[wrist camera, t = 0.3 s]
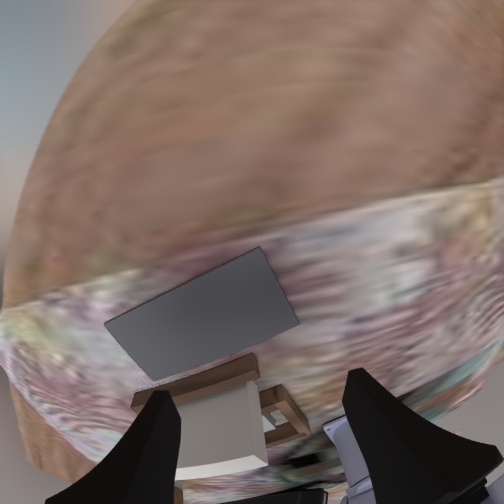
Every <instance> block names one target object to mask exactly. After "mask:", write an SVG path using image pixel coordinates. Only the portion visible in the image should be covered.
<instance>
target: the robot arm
mask: <svg viewBox="0 0 504 504" xmlns="http://www.w3.org/2000/svg"><path fill="white" fill-rule="evenodd" d="M342 403H343V406H344V410H345V414H346V416H344V417H341V418H339V419H337V420H334V421H332V422H330V423H327V424H325V425H324V426H323V429H324V431H325V432H326V434H327V435H328V436H329V438H330V439H331V441H332V442H333V443H334V445H335V446H336V448H337V451H338V454H339V457H340V460H341V463H342V466H343V469H344V472H345V475H346V478H347V481H348V485H349V489H347V490H346V493H347V496H345V497H343V499H342V501H341V503H340V504H504V474H503V475H501V476H500V477H499V478H498V479H497V480H496V481H494V482H493V483H492V484H491V485H489V486H488V487H485V484H486V483H487V480H486V478H485V477H486V476H487V475H488V474H490V473H491V472H492V471H493V470H494V469H495V468H497V467H498V466H499V465H500V464H501V463H502V462H503V460H504V458H503V457H502V455H501V453H500V452H499V450H498V449H497V447H496V446H494V445H489V444H485V443H480V442H476V441H472V440H469V439H466V438H463V437H460V436H458V435H456V434H453V433H451V432H449V431H446V430H444V429H442V428H440V427H438V426H436V425H434V424H433V423H431V422H429V421H428V420H426V419H424V418H423V417H421V416H420V415H418V414H417V413H415V412H414V411H413V410H411V409H410V408H408V407H407V406H406V405H404V404H403V403H402V402H401V401H399V400H398V399H397V398H396V397H395V396H393V395H392V394H391V393H390V392H389V391H388V390H386V389H385V388H384V387H383V386H382V385H381V384H380V383H379V382H378V381H376V380H375V379H374V378H373V377H372V376H371V375H370V374H369V373H368V372H367V371H366V370H365V369H363V368H358V369H354V370H350V371H349V372H348V376H347V381H346V386H345V390H344V395H343V399H342ZM180 442H181V417H180V415H179V413H178V410H177V408H176V406H175V404H174V402H173V399H172V397H171V395H170V392H169V390H154V391H153V393H152V394H151V396H150V397H149V399H148V400H147V402H146V404H145V405H144V407H143V408H142V410H141V411H140V413H139V414H138V416H137V417H136V419H135V420H134V422H133V423H132V425H131V426H130V427H129V429H128V430H127V432H126V433H125V434H124V435H123V437H122V438H121V439H120V440H119V442H118V443H117V444H116V445H115V447H114V448H113V449H112V450H111V451H110V452H109V453H108V455H107V456H106V457H105V458H104V459H103V460H102V461H101V462H100V463H99V464H98V465H96V466H95V467H94V468H93V469H92V470H91V471H90V472H89V473H87V474H86V475H85V476H84V477H82V478H81V479H80V480H78V481H77V482H75V483H74V484H72V485H71V486H70V487H68V488H66V489H65V490H63V491H61V492H59V493H58V494H56V495H54V496H52V497H50V498H48V499H46V501H45V504H174V484H175V476H176V469H177V462H178V456H179V449H180Z"/></svg>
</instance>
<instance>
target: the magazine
mask: <svg viewBox="0 0 504 504" xmlns="http://www.w3.org/2000/svg"><path fill="white" fill-rule="evenodd" d="M327 501H328V492H326V491H324V489H323V488H315V489H306V486H305V485H303V486H302V488H301V490H295V491H289V492H282V493H276V494H272V495H264V496H258V497H253V498H248V499H243V500H237V501H232V502H226V503H222V504H327Z"/></svg>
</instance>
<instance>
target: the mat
mask: <svg viewBox="0 0 504 504" xmlns="http://www.w3.org/2000/svg"><path fill="white" fill-rule="evenodd" d="M297 325H299V322H298V320H297V318H296V316H295V314H294V312H293V310H292V308H291V306H290V304H289V302H288V300H287V298H286V296H285V294H284V292H283V290H282V288H281V286H280V284H279V283H278V281H277V279H276V277H275V275H274V273H273V271H272V269H271V267H270V265H269V263H268V261H267V259H266V257H265V255H264V254H263V252H262V250H261V248H260V246H258V247H256V248H254V249H252V250H250V251H248V252H246V253H244V254H242V255H240V256H238V257H236V258H234V259H232V260H230V261H228V262H226V263H224V264H222V265H220V266H218V267H216V268H214V269H212V270H210V271H208V272H206V273H204V274H202V275H200V276H198V277H196V278H194V279H192V280H190V281H188V282H186V283H184V284H182V285H180V286H178V287H176V288H174V289H172V290H170V291H168V292H166V293H164V294H162V295H159V296H157V297H155V298H153V299H151V300H149V301H147V302H145V303H143V304H141V305H139V306H137V307H135V308H133V309H131V310H129V311H127V312H125V313H123V314H121V315H119V316H117V317H115V318H113V319H111V320H109V321H107V322H105V323H104V326H105V327H106V329H107V330H108V331H109V332H110V334H111V335H112V336H113V337H114V338H115V340H116V341H117V342H118V343H119V344H120V345H121V347H122V348H123V349H124V350H125V351H126V352H127V353H128V355H129V356H130V357H131V358H132V359H133V360H134V361H135V362H136V363H137V365H138V366H139V367H140V368H141V369H142V370H143V371H144V372H145V373H146V374H147V375H148V376H149V377H150V378H151V379H152V380H153V381H156V380H159V379H162V378H166V377H169V376H172V375H175V374H178V373H181V372H184V371H186V370H189V369H192V368H195V367H198V366H200V365H203V364H206V363H209V362H211V361H214V360H217V359H219V358H222V357H224V356H227V355H230V354H232V353H235V352H237V351H240V350H242V349H245V348H247V347H249V346H252V345H254V344H257V343H259V342H261V341H264V340H266V339H268V338H271V337H273V336H275V335H277V334H280V333H282V332H284V331H286V330H288V329H291V328H293V327H295V326H297Z"/></svg>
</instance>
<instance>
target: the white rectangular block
mask: <svg viewBox="0 0 504 504" xmlns="http://www.w3.org/2000/svg"><path fill="white" fill-rule="evenodd" d="M175 406H176V408H177V410H178V413H179V415H180V417H181V442H180V449H179V456H178V462H177V469H176V476H175V480H187V479H196V478H205V477H212V476H219V475H225V474H231V473H236V472H241V471H246V470H251V469H255V468H259V467H263V466H267V465H268V459H267V452H266V444H265V437H264V429H263V422H262V414H261V406H260V399H259V391H258V386H257V385H256V384H255V383H254V381H253V380H251V381H249V382H246V383H243V384H240V385H237V386H235V387H232V388H229V389H226V390H223V391H220V392H217V393H214V394H210V395H207V396H204V397H201V398H197V399H194V400H190V401H187V402H183V403H179V404H176V405H175Z"/></svg>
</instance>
